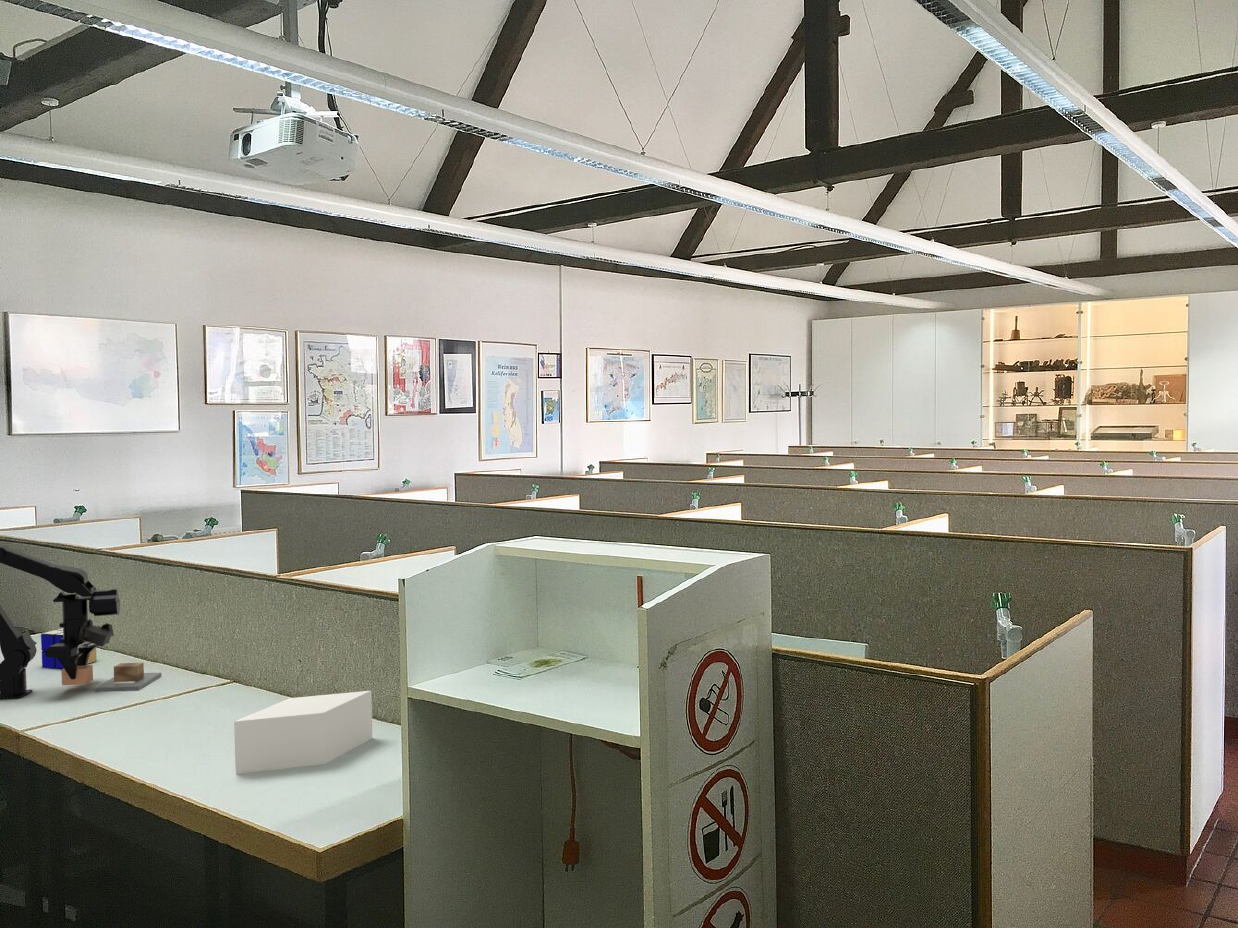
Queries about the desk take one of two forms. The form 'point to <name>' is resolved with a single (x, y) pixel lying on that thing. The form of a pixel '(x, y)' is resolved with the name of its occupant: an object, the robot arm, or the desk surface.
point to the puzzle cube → (54, 638)
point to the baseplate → (128, 683)
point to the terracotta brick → (78, 676)
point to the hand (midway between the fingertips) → (77, 676)
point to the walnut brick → (128, 672)
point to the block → (302, 731)
